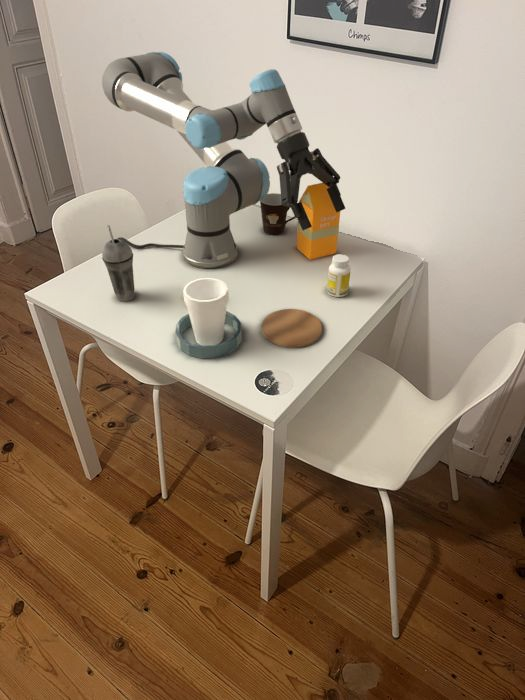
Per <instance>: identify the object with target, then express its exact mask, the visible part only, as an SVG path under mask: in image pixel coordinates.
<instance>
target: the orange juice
mask: <svg viewBox="0 0 525 700" xmlns="http://www.w3.org/2000/svg"><path fill="white" fill-rule="evenodd" d="M328 188H330V187H328V186H327V185H325V184H324V183H323V182H318V183H314V184H309V185H307V186H306V188H305V190H304V192H303V193H302V195H301V196H300V199H299V200H298V203H299V202H301V203H302V205H303V207H304V210H305V212H306V214H307V216H308V219H309V221H310V223H311V226H312V227H310V228H308V229H305V230H302V228H301V226H300V223H299V221H298V220H297V235H296V237H297V239H296V249H297V250H298V251H299V252H300V253H301V254H303V255H304V256H305V257H306V258H307V259H309V260H310V261H312V260H315V259H318V258H322V257H327V256H330V255H333V254H337V249H338V238H339V231H340V218H341V211H339V212H337V213H336V210H335V208H334V206H333V203H332V201H331V198H330V196H329V194H328V191H327V189H328Z"/></svg>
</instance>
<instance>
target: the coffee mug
mask: <svg viewBox="0 0 525 700" xmlns="http://www.w3.org/2000/svg"><path fill="white" fill-rule="evenodd" d="M259 204H260V212H261V221H262V228H263V232H264V233H265V235H270V236H279V235H283V233H285V228H286V225H287V223H289V222H292V221H294V220H295V219H297V218H296V217H295V216H294V215H293V216H292V217H290V218H289V219H287V217H288V212H289V210H290V209H291V207H287V206H286V205H285V206H283V205H282V203H281V193H275V192H273V193H268V194H267V195H266V197H265V198H264V199H262V200H260V201H259Z"/></svg>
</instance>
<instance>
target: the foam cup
mask: <svg viewBox="0 0 525 700" xmlns="http://www.w3.org/2000/svg"><path fill="white" fill-rule="evenodd" d="M182 291H183V300H184V305H185V306H186V308H187V313H188V314H189V316H190V320H191V324H192V325H191V327H192V328H191V329H192V331H193V334H194V338H195V342H196V343H197V345H201V346H209V345H217V344H220V343H223V339H224V337H225V335H224V334H225V327H226V326H225V325H226V323H225V317H226V311H227V305H228V300H229V288H228V286H227V283H226V282H224V281H223V280H221V279H218V278H213V277H200V278H197V279H193V280H191V281H189V282H188V283H185V286H184V288H183V289H182Z"/></svg>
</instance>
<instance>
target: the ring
mask: <svg viewBox="0 0 525 700" xmlns="http://www.w3.org/2000/svg"><path fill="white" fill-rule="evenodd" d="M225 324H227V325H228V326H230V327H232V328H233V329H234V330H235V334H234V335H233V336H232V337H231V338H229V339H227V340H226V341H224V342H220V343H219V344H217V345H209V346H202V345H200V344H196V343H191V342H190V341H188V340H187V339H184V338H183V336H182V335H183V333H184V332H185V331H186V330H187V329H189V328H190V327H192V324H191V320H190V316H189V313H187V314H185V315H183V316H182V317H181V318H180V319H179V321H178V322H176V323H175V339H176V340H175V341H176V344H177V347H178V348H179V349H180V351H181V352H183V353H185V354H187V356H189V357H194V358H198V359H202V360H203V359H217V358H220V357H223V356H226V355H227V356H228V355H229V354H231V353H232V352H233V351H235V350H236V349H238V347H239V345H240V344H241V343H242V341H243V340H242V339H243V338H242V322H241V321H240V320H239V318H238V317H237V315H235V314H233V313H231V312H229V311H227V310H226V317H225Z"/></svg>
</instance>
